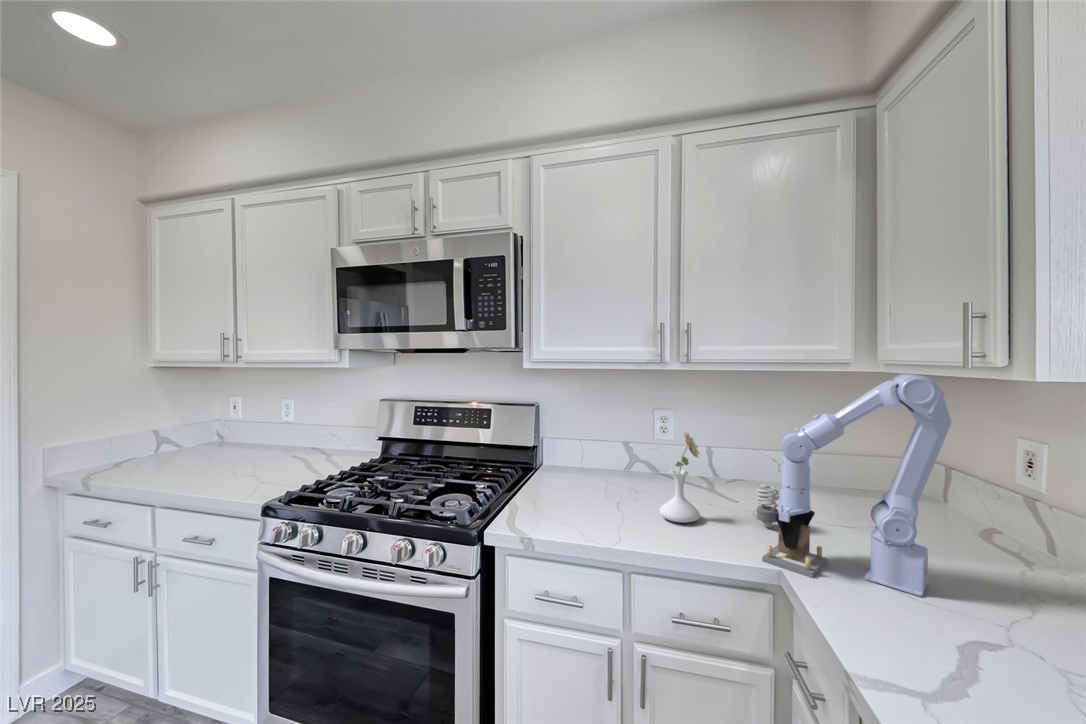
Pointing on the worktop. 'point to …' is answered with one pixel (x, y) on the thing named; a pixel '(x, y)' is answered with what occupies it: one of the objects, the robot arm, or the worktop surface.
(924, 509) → the worktop surface
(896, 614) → the worktop surface
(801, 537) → the walnut block
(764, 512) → the light bulb
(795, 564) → the standoff board
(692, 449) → the flower in vase
